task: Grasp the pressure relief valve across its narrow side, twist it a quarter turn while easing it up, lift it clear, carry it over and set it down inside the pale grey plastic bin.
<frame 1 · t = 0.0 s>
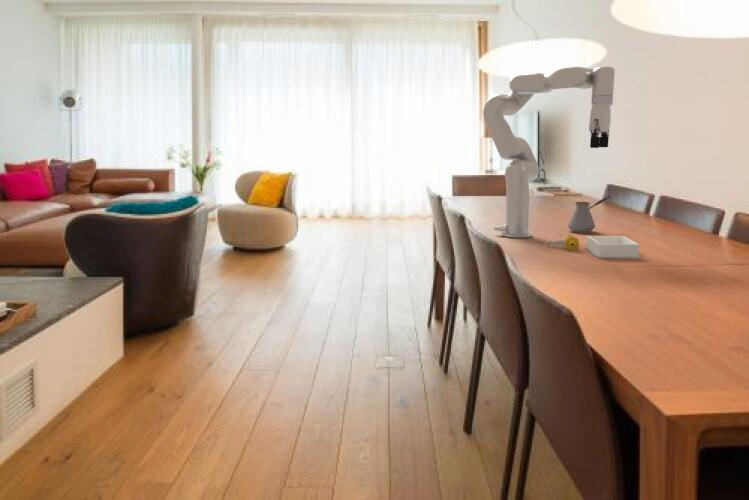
hand: (599, 147, 232), 37 cm above the table, tool pointing down, fingers open, 9 cm apart
pressure relief valve: (561, 249, 230), on the table
bin: (610, 253, 220), on the table
coffee pot: (589, 231, 271), on the table
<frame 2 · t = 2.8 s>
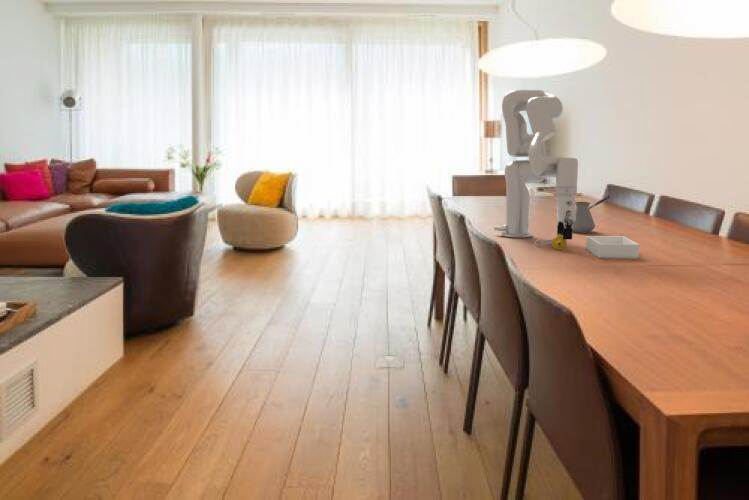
hand: (564, 237, 229), 4 cm above the table, tool pointing down, fingers open, 9 cm apart
pressure relief valve: (550, 248, 232), on the table, touching gripper
everything else where it was.
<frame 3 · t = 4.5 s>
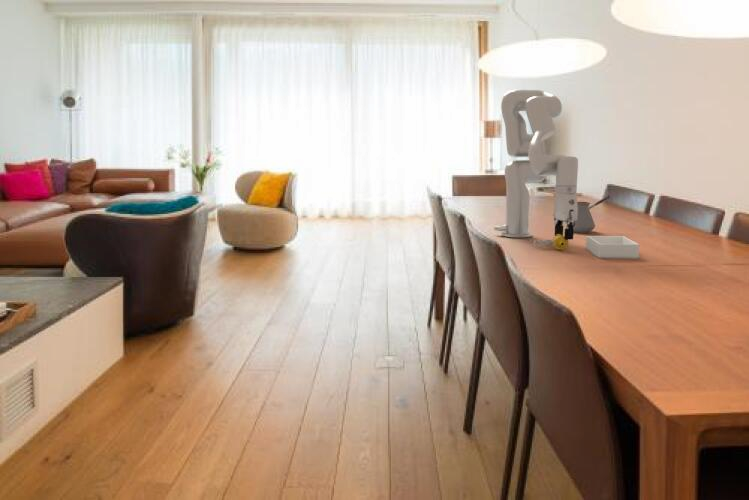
hand: (563, 237, 229), 4 cm above the table, tool pointing down, fingers closed on pressure relief valve, 7 cm apart
pressure relief valve: (550, 249, 230), on the table, touching gripper
everything else where it was.
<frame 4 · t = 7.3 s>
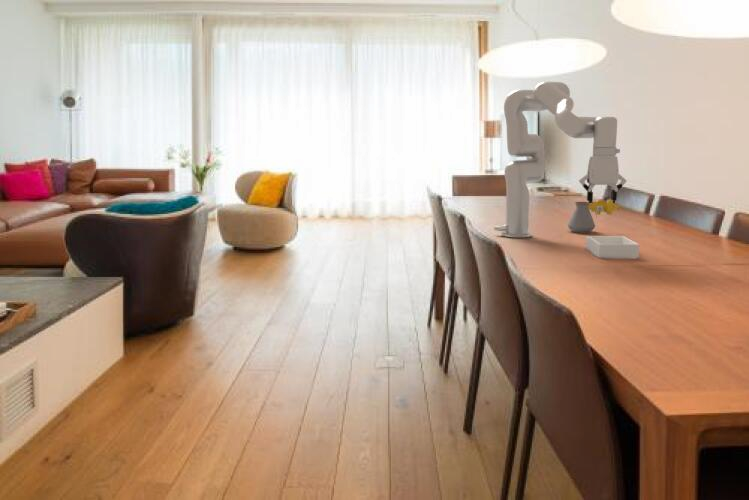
hand: (601, 202, 219), 18 cm above the table, tool pointing down, fingers closed on pressure relief valve, 7 cm apart
pressure relief valve: (602, 216, 215), point 14 cm above the table, touching gripper
everything else where it was.
when the fingers open (6 cm above the table, at t = 10.4 s): pressure relief valve stays where it is, resting on bin.
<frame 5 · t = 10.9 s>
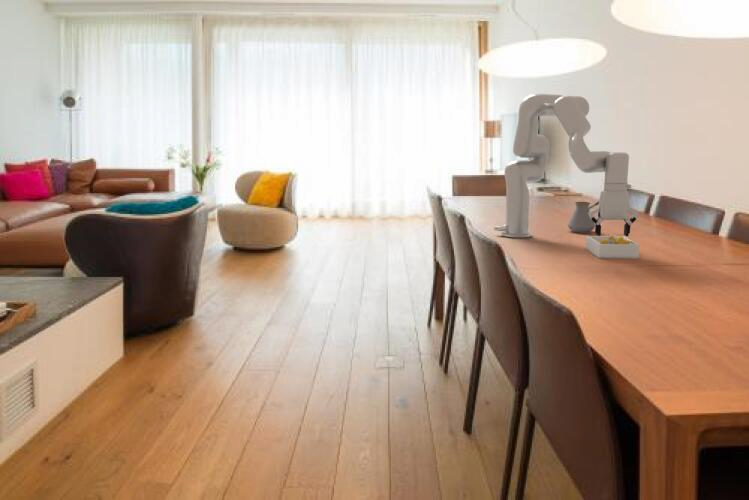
hand: (612, 235, 219), 7 cm above the table, tool pointing down, fingers open, 9 cm apart
pressure relief valve: (615, 247, 214), point 3 cm above the table, touching bin
everything else where it was.
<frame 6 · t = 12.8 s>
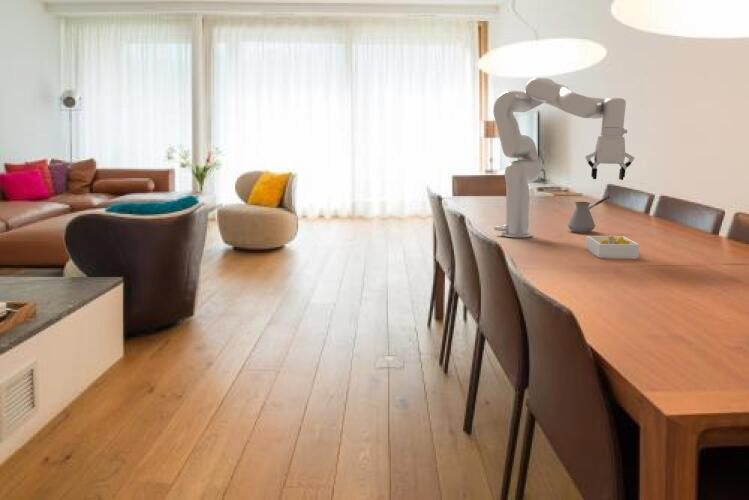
hand: (607, 179, 229), 26 cm above the table, tool pointing down, fingers open, 9 cm apart
nothing on the table moved.
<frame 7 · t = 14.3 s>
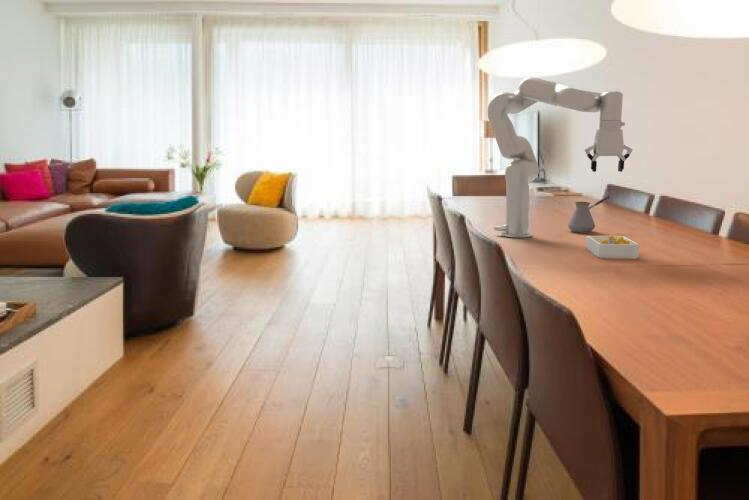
hand: (607, 171, 232), 28 cm above the table, tool pointing down, fingers open, 9 cm apart
nothing on the table moved.
at the end: pressure relief valve inside the target area on the bin (5.9 cm from its centre), point 3.2 cm above the bin's base; the gripper is holding nothing; pressure relief valve moved 21.1 cm from its start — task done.
